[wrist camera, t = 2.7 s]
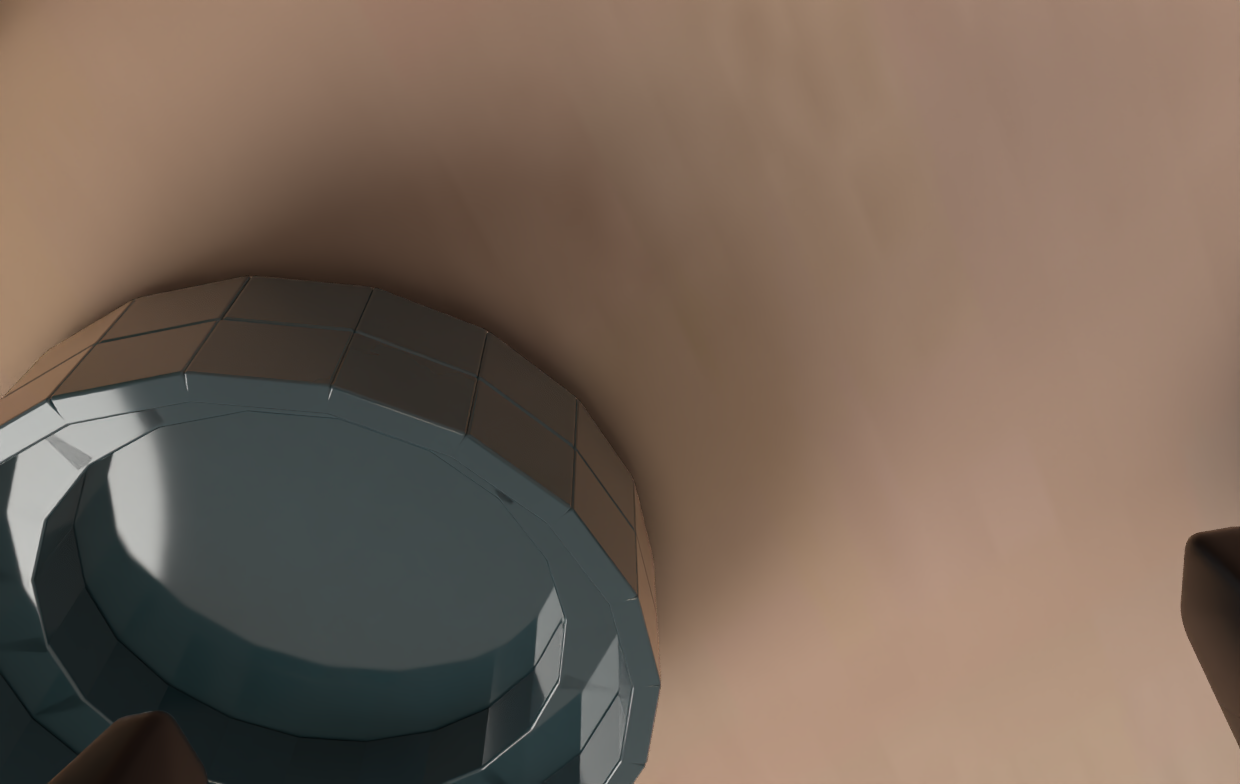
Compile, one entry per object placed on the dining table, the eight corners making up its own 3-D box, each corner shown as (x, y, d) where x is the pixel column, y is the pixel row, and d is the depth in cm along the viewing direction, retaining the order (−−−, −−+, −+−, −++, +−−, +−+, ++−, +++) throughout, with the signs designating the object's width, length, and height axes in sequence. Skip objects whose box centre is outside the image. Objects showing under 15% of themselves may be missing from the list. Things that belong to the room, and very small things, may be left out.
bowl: (568, 198, 21) (560, 298, 17) (697, 725, 28) (712, 878, 24) (-139, 341, 22) (-297, 464, 18) (166, 806, 30) (101, 962, 26)
